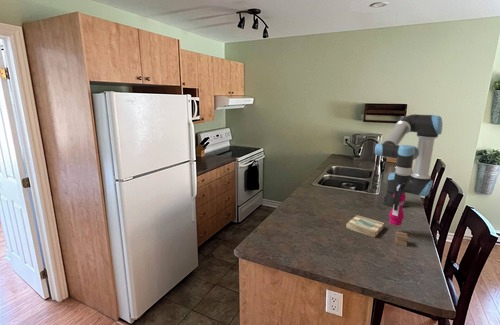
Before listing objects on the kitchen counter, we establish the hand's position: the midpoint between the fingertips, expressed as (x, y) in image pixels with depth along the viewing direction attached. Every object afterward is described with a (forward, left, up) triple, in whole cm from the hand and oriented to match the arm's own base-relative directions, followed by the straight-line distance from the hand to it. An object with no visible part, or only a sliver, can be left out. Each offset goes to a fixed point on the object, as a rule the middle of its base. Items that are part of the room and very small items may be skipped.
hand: (396, 213), depth 151 cm
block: (+10, +6, -12) cm, 17 cm away
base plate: (+6, -14, -12) cm, 19 cm away
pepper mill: (0, 0, -6) cm, 6 cm away
